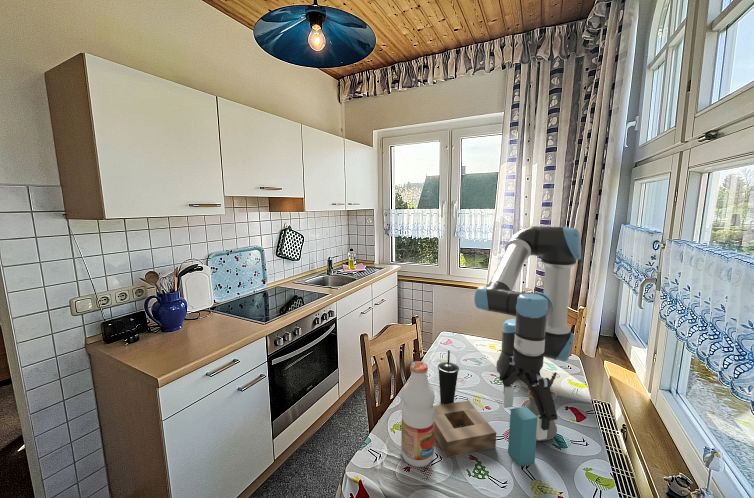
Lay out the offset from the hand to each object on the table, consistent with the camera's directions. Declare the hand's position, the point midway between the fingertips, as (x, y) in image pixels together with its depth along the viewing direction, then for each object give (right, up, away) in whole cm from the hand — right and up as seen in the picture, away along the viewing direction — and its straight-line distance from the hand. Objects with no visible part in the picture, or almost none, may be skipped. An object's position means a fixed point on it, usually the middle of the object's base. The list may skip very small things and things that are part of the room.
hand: (523, 421), depth 88 cm
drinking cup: (-15, -8, +28) cm, 33 cm away
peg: (0, -11, +2) cm, 12 cm away
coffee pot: (+13, -10, +15) cm, 23 cm away
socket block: (-16, -10, +11) cm, 22 cm away
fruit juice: (-30, -12, +3) cm, 32 cm away
